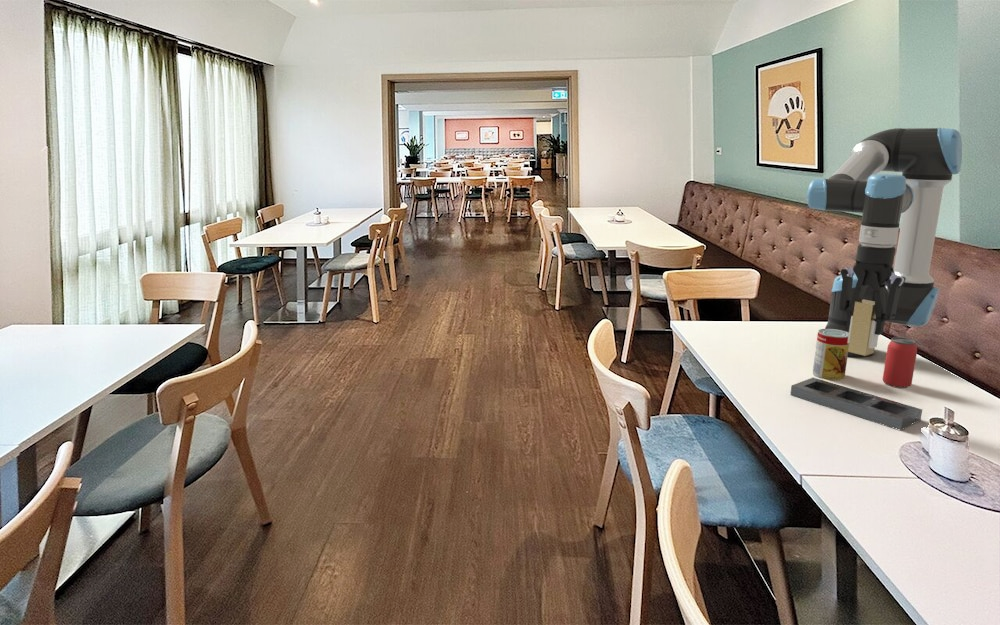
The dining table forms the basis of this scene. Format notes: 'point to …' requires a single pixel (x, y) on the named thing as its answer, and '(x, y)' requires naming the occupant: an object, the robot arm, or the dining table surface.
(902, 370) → the beer can
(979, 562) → the dining table surface
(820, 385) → the grey slotted tray
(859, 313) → the wooden block
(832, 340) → the canned food
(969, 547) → the dining table surface
